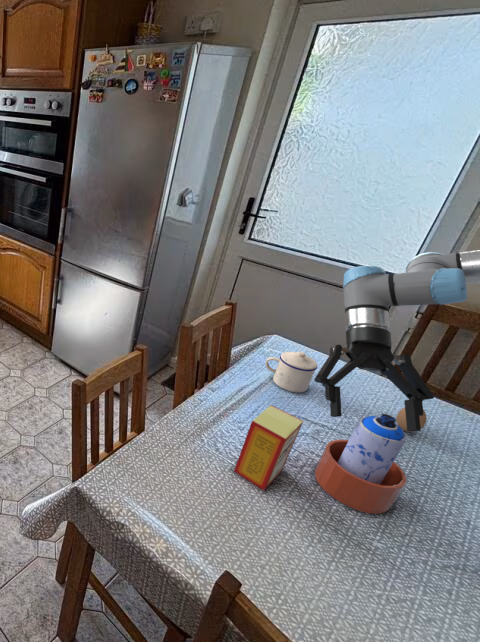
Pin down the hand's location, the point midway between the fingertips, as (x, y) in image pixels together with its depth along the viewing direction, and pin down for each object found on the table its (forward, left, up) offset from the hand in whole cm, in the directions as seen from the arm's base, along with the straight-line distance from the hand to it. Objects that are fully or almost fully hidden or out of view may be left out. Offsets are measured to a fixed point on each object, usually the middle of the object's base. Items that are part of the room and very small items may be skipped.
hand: (374, 423), depth 90 cm
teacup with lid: (+15, -33, -17) cm, 40 cm away
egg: (-12, -29, -17) cm, 36 cm away
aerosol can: (-1, +3, -16) cm, 16 cm away
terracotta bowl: (-1, +3, -16) cm, 17 cm away
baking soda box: (+16, +11, -17) cm, 26 cm away
